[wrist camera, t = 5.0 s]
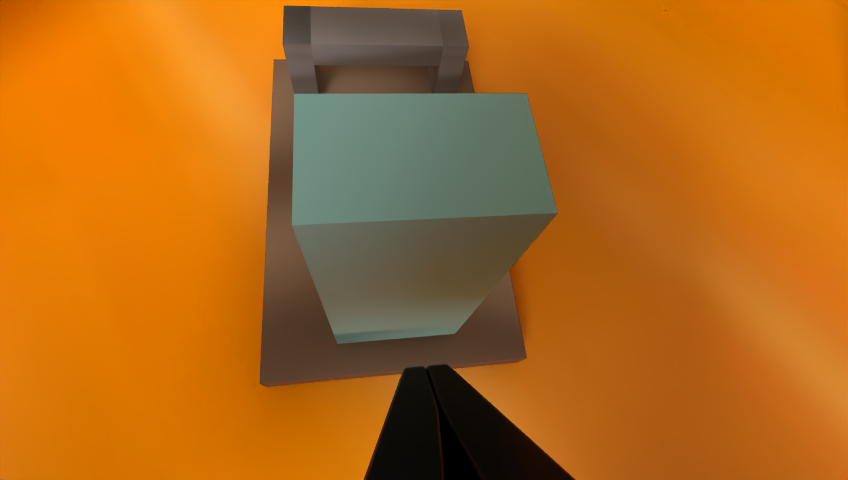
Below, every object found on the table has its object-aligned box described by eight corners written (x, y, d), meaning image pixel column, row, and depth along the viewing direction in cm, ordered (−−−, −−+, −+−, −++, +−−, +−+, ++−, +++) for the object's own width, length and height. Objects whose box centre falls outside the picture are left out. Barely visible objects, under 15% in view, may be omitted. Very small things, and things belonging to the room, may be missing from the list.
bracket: (517, 362, 16) (562, 340, 12) (266, 386, 15) (230, 371, 11) (463, 76, 22) (483, 2, 18) (278, 76, 20) (257, -5, 16)
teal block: (454, 333, 15) (557, 212, 7) (337, 344, 14) (292, 225, 6) (426, 124, 18) (470, -122, 10) (331, 125, 18) (298, -134, 10)
